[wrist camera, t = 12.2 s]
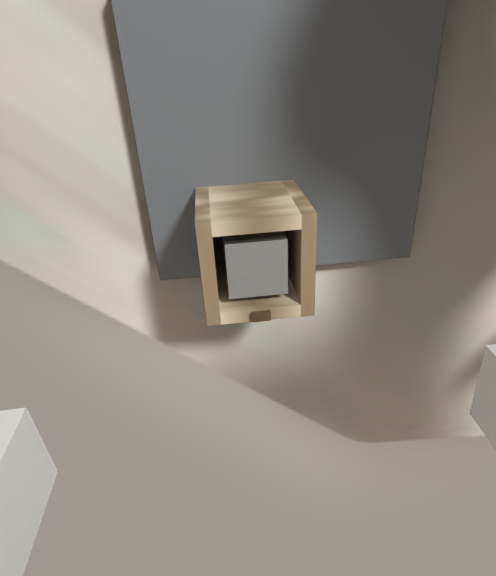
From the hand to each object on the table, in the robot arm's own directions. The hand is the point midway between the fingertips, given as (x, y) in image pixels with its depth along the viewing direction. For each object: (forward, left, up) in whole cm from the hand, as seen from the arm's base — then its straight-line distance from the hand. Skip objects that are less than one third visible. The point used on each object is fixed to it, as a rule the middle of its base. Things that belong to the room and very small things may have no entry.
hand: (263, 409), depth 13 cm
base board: (-4, -3, -22) cm, 23 cm away
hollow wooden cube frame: (-1, +3, -21) cm, 21 cm away
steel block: (-1, +3, -22) cm, 23 cm away
